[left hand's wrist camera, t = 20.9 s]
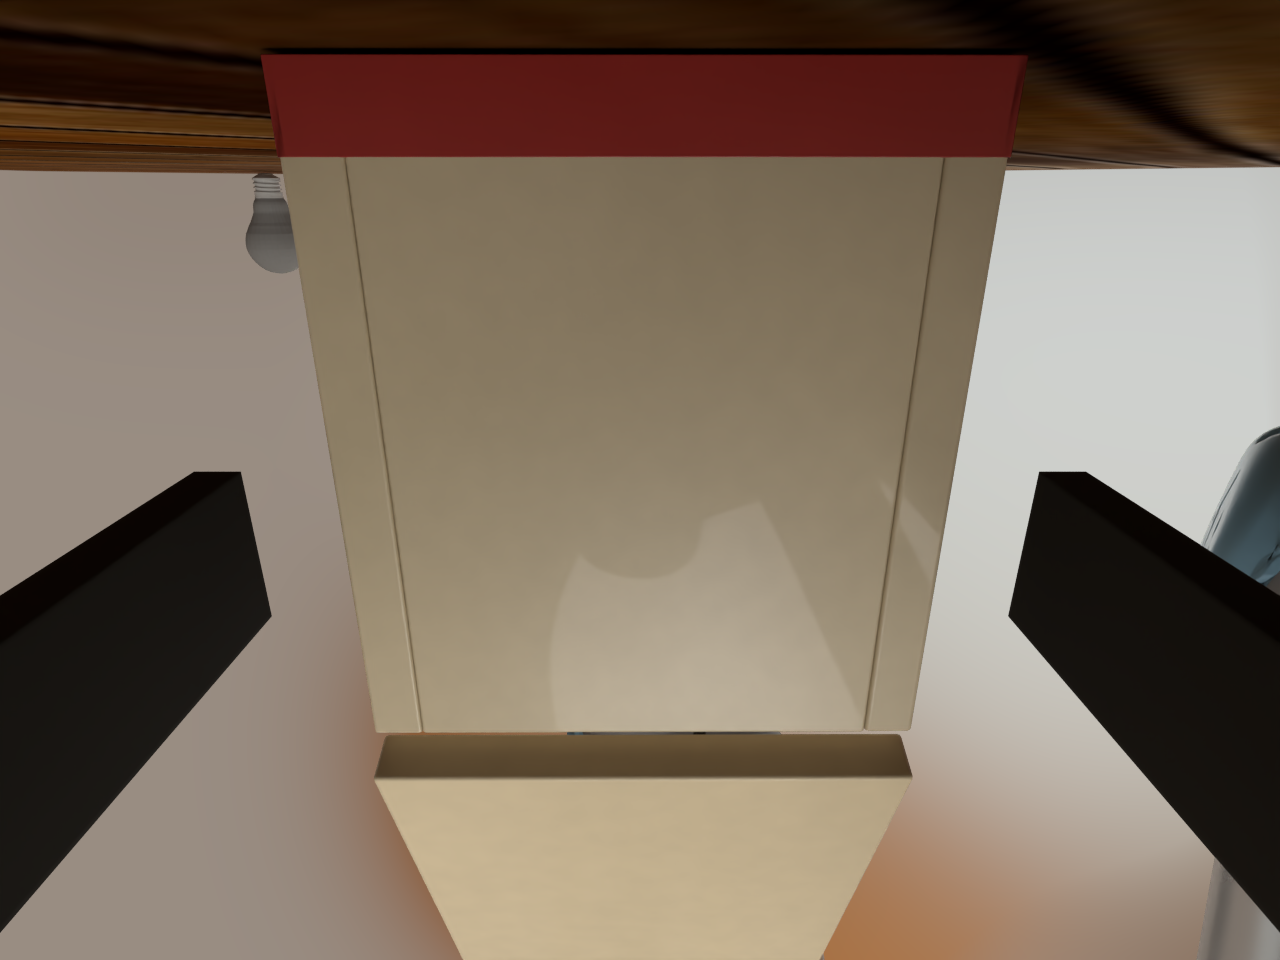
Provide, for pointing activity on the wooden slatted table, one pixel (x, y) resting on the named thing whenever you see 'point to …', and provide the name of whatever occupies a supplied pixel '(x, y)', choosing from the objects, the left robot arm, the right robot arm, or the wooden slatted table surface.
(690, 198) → the chest
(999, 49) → the wooden slatted table surface
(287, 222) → the light bulb
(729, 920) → the lid
